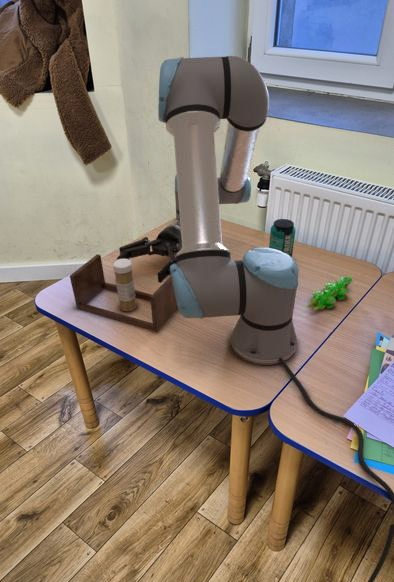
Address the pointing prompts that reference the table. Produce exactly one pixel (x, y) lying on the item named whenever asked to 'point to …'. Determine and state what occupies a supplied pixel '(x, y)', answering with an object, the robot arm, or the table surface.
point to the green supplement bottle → (282, 236)
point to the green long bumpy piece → (331, 293)
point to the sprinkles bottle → (125, 284)
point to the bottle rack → (92, 282)
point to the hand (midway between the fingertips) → (136, 272)
